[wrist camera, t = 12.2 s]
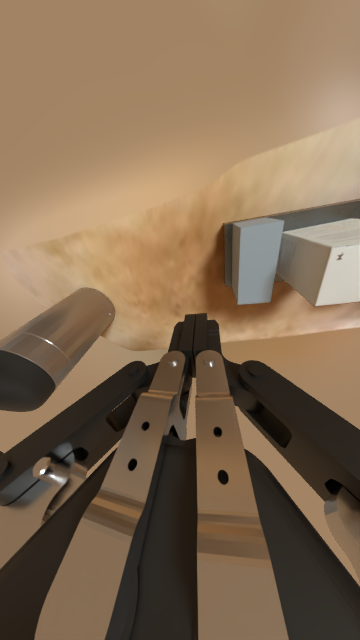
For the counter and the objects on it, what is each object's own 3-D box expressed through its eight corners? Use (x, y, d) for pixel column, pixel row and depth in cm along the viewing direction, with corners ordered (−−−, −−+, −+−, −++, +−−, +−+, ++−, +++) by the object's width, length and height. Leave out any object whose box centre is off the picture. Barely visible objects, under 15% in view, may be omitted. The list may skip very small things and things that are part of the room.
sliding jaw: (231, 286, 26) (237, 304, 21) (232, 223, 21) (240, 227, 16) (257, 283, 25) (270, 302, 20) (265, 217, 20) (284, 220, 15)
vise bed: (224, 282, 28) (229, 304, 21) (223, 223, 23) (230, 229, 16) (386, 265, 23) (456, 287, 17) (429, 186, 18) (552, 174, 12)
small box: (273, 272, 24) (311, 308, 15) (279, 231, 21) (329, 247, 12) (336, 263, 22) (418, 298, 14) (352, 216, 19) (470, 224, 11)
